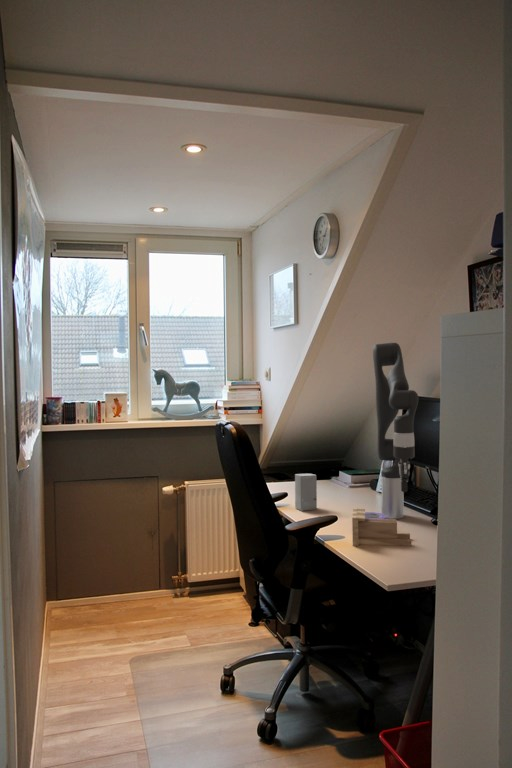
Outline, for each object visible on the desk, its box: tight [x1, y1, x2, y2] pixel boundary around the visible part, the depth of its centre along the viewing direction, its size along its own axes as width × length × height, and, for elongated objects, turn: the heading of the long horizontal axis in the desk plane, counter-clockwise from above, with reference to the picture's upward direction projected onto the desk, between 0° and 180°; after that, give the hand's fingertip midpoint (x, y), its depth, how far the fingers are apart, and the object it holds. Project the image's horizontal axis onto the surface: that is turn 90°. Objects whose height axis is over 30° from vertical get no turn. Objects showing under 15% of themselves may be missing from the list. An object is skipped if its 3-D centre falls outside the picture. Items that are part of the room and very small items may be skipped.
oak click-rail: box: [351, 508, 412, 547], centre depth 235 cm, size 14×21×10 cm, turn 80°
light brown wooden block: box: [358, 518, 398, 539], centre depth 235 cm, size 5×14×8 cm, turn 80°
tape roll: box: [365, 511, 387, 519], centre depth 254 cm, size 12×12×5 cm
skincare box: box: [294, 473, 318, 512], centre depth 286 cm, size 8×7×16 cm
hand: (404, 491), depth 233 cm, fingers closed
